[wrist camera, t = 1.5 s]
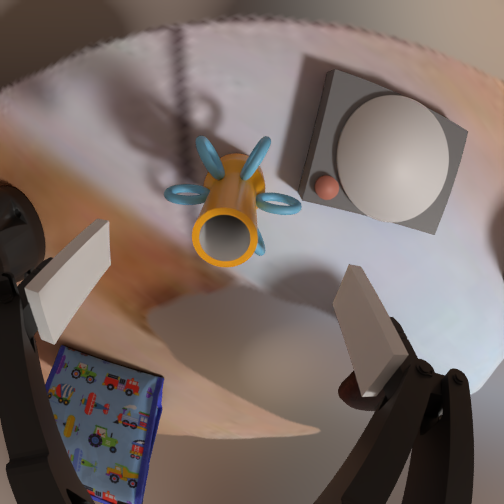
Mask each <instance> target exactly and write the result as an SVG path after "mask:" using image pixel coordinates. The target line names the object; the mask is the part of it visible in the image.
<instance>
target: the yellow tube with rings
mask: <svg viewBox="0 0 504 504" xmlns="http://www.w3.org/2000/svg"><path fill="white" fill-rule="evenodd" d="M270 144H271V139H270V138H269V137H267V136H265V137H263V138H261V140H260V141H259V142H258V143H257V145H256V146H255V148H254V149H253V151H252V152H251V154H250V156H247V155H244V154H239V153H232V154H228V155H225V156H223V157H221V158H219V156H218V154H217V152H216V150H215V149H214V147H213V146H212V144H211V143H210V141H209V140H208V139H207V138H206V137H204V136H198V137H197V138H196V148H197V151H198V154H199V156H200V158H201V160H202V162H203V164H204V165H205V167H206V169H207V170H208V171H209V172H208V173H207V175H206V177H205V180H204V185H203V186H199V185H192V184H181V185H174V186H171V187H169V188H167V189H166V190H165V192H164V197H165V198H166V199H167V200H168V201H170V202H172V203H176V204H182V205H195V204H201V203H204V205H203V207H202V210H201V212H200V214H199V216H198V218H197V221H196V223H195V225H194V228H193V232H192V241H193V245H194V248H195V250H196V251H197V253H198V254H199V256H200V257H201V258H202V259H204V260H205V261H206V262H208V263H210V264H212V265H215V266H219V267H234V266H237V265H240V264H242V263H244V262H245V261H247V260H248V259H249V258H250V257H251V256H252V255H253V253H254V252H255V253H256V254H257V255H259V256H262V255H264V253H265V245H264V241H263V239H262V236H261V234H260V231H259V229H258V227H257V213H256V209H257V208H259V209H261V210H263V211H266V212H269V213H273V214H280V215H292V214H296V213H298V212H299V211H300V210H301V203H300V202H299V201H298V200H297V199H295V198H293V197H291V196H288V195H284V194H279V193H265V181H264V176H263V172H262V170H261V168H260V166H259V165H260V163H261V162H262V160H263V158H264V157H265V155H266V153H267V151H268V149H269V147H270ZM183 192H191V193H197V194H200V195H193V196H185V195H178V194H176V193H183ZM266 201H278V202H283V203H286V204H289V205H290V206H282V205H275V204H271V203H268V202H266Z"/></svg>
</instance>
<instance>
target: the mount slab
mask: <svg viewBox="0 0 504 504" xmlns="http://www.w3.org/2000/svg"><path fill="white" fill-rule="evenodd" d="M467 134H468V131H467V130H465V129H463V128H462V127H460V126H459V125H457V124H455V123H454V122H452V121H450V120H449V119H447V118H445V117H443V116H442V115H440V114H438V113H436V112H434V111H432V110H431V109H429V108H427V107H425V106H424V105H422V104H421V103H419V102H417V101H416V100H413V99H411V98H408V97H405V96H403V95H400V94H398V93H396V92H394V91H391V90H389V89H387V88H385V87H382V86H380V85H377V84H375V83H372V82H370V81H367V80H365V79H362V78H359V77H357V76H354V75H351V74H348V73H345V72H342V71H339V70H336V69H334V70H332V71H330V72H327V76H326V80H325V84H324V89H323V93H322V97H321V102H320V106H319V110H318V114H317V118H316V122H315V127H314V131H313V135H312V139H311V143H310V147H309V151H308V155H307V159H306V163H305V167H304V170H303V174H302V178H301V182H300V186H299V190H298V193H299V195H300V197H301V199H302V201H307V202H311V203H316V204H320V205H324V206H329V207H333V208H337V209H341V210H345V211H349V212H353V213H357V214H361V215H365V216H369V217H371V218H373V219H376V220H379V221H383V222H391V223H395V224H399V225H402V226H406V227H409V228H413V229H416V230H419V231H423V232H426V233H429V234H433V235H435V232H436V230H437V227H438V225H439V222H440V220H441V217H442V215H443V212H444V209H445V207H446V204H447V201H448V198H449V196H450V193H451V190H452V187H453V184H454V181H455V178H456V174H457V171H458V168H459V164H460V161H461V157H462V154H463V150H464V146H465V142H466V138H467Z"/></svg>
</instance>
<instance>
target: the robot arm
mask: <svg viewBox="0 0 504 504" xmlns="http://www.w3.org/2000/svg"><path fill="white" fill-rule="evenodd" d="M44 256H45V238H44V232H43V228H42V225H41V222H40V220H39V217H38V215H37V213H36V211H35V209H34V207H33V206H32V204H31V203H30V201H29V200H28V199H27V198H26V196H25V195H24V194H22V193H21V192H20V191H19V190H17V189H16V188H14V187H11V186H1V187H0V419H1V425H2V429H3V434H4V438H5V442H6V446H7V450H8V454H9V458H10V461H9V463H8V464H6V472H7V476H8V480H9V483H10V486H11V488H12V491H13V494H14V497H15V499H16V501H17V504H95V503H94V501H93V499H92V497H91V496H90V494H89V492H88V491H87V489H86V488H85V487H84V485H83V484H82V482H81V481H80V479H79V477H78V476H77V473H76V471H75V469H74V467H73V465H72V462H71V460H70V458H69V455H68V453H67V451H66V448H65V446H64V443H63V440H62V438H61V435H60V432H59V430H58V427H57V424H56V421H55V418H54V415H53V412H52V408H51V405H50V402H49V398H48V395H47V391H46V387H45V383H44V379H43V375H42V370H41V366H40V361H39V356H38V351H37V345H36V340H35V338H34V334H35V333H36V331H37V330H38V332H39V335H40V337H41V340H44V341H46V342H49V343H51V344H54V345H55V343H56V342H57V340H58V339H59V337H60V336H61V334H62V332H63V331H64V329H65V328H66V326H67V325H68V323H69V322H70V320H71V319H72V317H73V316H74V314H75V313H76V311H77V310H78V309H79V307H80V306H81V304H82V303H83V301H84V300H85V299H86V297H87V296H88V294H89V293H90V292H91V290H92V289H93V287H94V286H95V285H96V283H97V282H98V281H99V279H100V278H101V277H102V275H103V274H104V273H105V271H106V270H107V269H108V268H109V266H110V265H111V262H110V242H109V221H107V220H101V219H96V220H95V221H94V222H93V223H92V224H90V225H89V226H88V227H87V228H86V229H85V230H84V231H82V232H81V233H80V234H79V235H78V236H77V237H76V238H75V239H73V240H72V241H71V242H70V243H69V244H68V245H67V246H66V247H65V248H64V249H63V250H62V251H60V252H59V253H58V254H57V255H56V256H55V257H54V258H52V257H50V258H48V259H46V260H44ZM43 260H44V261H43ZM21 280H23V281H22V282H21V283H20V284H19V285H18V286H17V285H16V283H17V282H19V281H21ZM332 305H333V308H334V310H335V313H336V316H337V319H338V322H339V325H340V328H341V331H342V334H343V337H344V340H345V343H346V346H347V350H348V353H349V356H350V359H351V362H352V365H353V369H354V372H355V375H356V379H357V382H358V385H359V389H360V392H361V396H362V397H370V396H377V395H378V394H379V392H380V391H381V390H382V389H384V392H385V396H384V397H383V398H382V399H381V400H380V402H379V403H378V404H377V405H376V406H375V407H374V408H373V409H376V408H377V409H376V411H375V412H374V415H373V416H372V418H371V420H370V421H369V423H368V425H367V427H366V428H365V430H364V432H363V433H362V435H361V437H360V439H359V440H358V442H357V443H356V445H355V447H354V448H353V450H352V451H351V453H350V454H349V456H348V457H347V459H346V461H345V462H344V463H343V465H342V466H341V468H340V469H339V471H338V472H337V473H336V475H335V476H334V478H333V479H332V480H331V482H330V483H329V484H328V486H327V487H326V488H325V490H324V491H323V492H322V494H321V495H320V496H319V497H318V499H317V500H316V501H315V502H314V503H313V504H386V502H387V500H388V498H389V496H390V494H391V492H392V490H393V489H394V487H395V484H396V483H397V481H398V478H399V476H400V474H401V472H402V470H403V468H404V465H405V463H406V461H407V459H408V456H409V454H410V451H411V449H412V453H411V459H410V466H409V471H408V477H407V482H406V487H405V491H404V496H403V500H402V504H471V503H472V491H473V476H474V474H473V473H474V437H473V419H472V408H471V399H470V390H469V383H468V379H467V377H466V376H465V374H464V373H463V372H462V371H460V370H458V369H454V368H453V369H450V370H449V371H448V373H447V374H446V375H441V374H437V373H435V372H434V369H433V367H432V366H431V365H430V364H429V363H428V362H426V361H424V360H422V359H418V358H417V356H416V354H415V352H414V350H413V348H412V346H411V344H410V342H409V340H408V339H407V336H406V334H405V333H404V331H403V329H402V327H401V325H400V324H399V323H398V322H397V321H396V320H395V319H394V318H393V317H389V315H388V314H387V312H386V310H385V308H384V306H383V304H382V302H381V301H380V299H379V297H378V295H377V294H376V292H375V290H374V288H373V286H372V285H371V283H370V281H369V279H368V278H367V276H366V274H365V273H364V271H363V269H362V268H361V267H360V266H355V265H350V264H349V266H348V268H347V271H346V273H345V275H344V278H343V280H342V283H341V285H340V287H339V290H338V292H337V294H336V297H335V299H334V301H333V304H332ZM117 504H129V503H125V502H122V501H119V500H118V501H117Z"/></svg>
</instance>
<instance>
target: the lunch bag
mask: <svg viewBox="0 0 504 504" xmlns="http://www.w3.org/2000/svg"><path fill="white" fill-rule="evenodd" d="M163 382H164V378H162V377H158V376H154V375H150V374H147V373H143V372H140V371H136V370H133V369H129V368H126V367H123V366H120V365H116V364H113V363H110V362H107V361H104V360H101V359H98V358H96V357H93V356H90V355H87V354H83V353H81V352H78V351H75V350H73V349H71V348H68V347H66V346H63V345H61V347H60V349H59V351H58V354H57V356H56V359H55V362H54V365H53V367H52V369H51V372H50V374H49V377H48V379H47V382H46V384H45V387H46V391H47V395H48V398H49V402H50V405H51V408H52V412H53V415H54V418H55V421H56V424H57V427H58V430H59V432H60V435H61V438H62V440H63V443H64V446H65V448H66V451H67V453H68V455H69V458H70V460H71V462H72V465H73V467H74V469H75V471H76V473H77V476H78V477H79V479H80V481H81V482H82V484H83V485H84V487H85V488H86V489H87V491H88V492H89V494H90V496H91V497H92V499H93V500H95V501H98V502H101V503H104V504H117V501H118V500H119V501H122V502H125V503H129V504H142V503H143V496H144V491H145V486H146V480H147V475H148V470H149V462H150V458H151V454H152V449H153V445H154V441H155V437H156V433H157V429H158V425H159V420H160V417H161V413H162V405H161V401H162V388H163Z"/></svg>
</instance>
